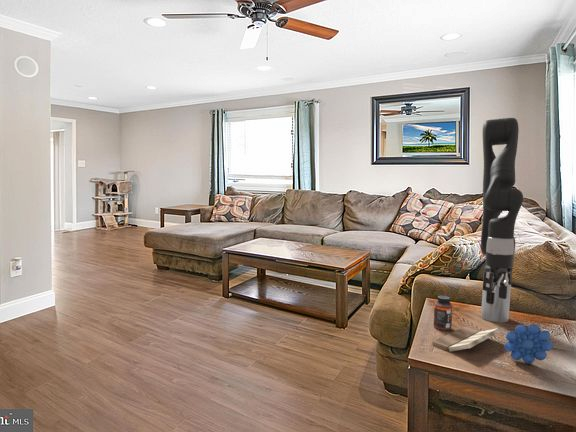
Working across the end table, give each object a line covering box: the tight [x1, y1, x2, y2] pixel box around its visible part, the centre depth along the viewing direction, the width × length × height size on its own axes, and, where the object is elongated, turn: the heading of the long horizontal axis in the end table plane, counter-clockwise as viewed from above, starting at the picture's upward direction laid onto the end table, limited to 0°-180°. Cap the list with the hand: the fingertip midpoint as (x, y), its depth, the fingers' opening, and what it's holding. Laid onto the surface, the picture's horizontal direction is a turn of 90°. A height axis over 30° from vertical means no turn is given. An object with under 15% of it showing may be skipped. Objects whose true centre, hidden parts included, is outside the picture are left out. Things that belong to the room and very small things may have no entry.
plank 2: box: [466, 327, 501, 340], centre depth 118 cm, size 10×7×1 cm
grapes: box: [503, 323, 554, 365], centre depth 105 cm, size 12×7×12 cm, turn 60°
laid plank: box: [432, 326, 480, 352], centre depth 120 cm, size 21×5×1 cm, turn 127°
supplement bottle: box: [433, 295, 453, 331], centre depth 129 cm, size 6×6×11 cm
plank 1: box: [448, 336, 487, 352], centre depth 112 cm, size 10×7×1 cm
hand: (496, 300), depth 116 cm, fingers open, 8 cm apart
